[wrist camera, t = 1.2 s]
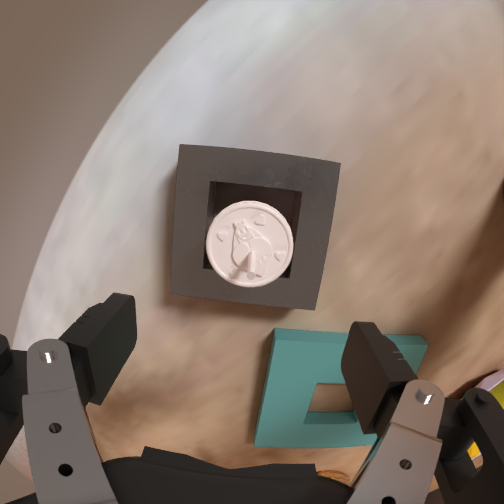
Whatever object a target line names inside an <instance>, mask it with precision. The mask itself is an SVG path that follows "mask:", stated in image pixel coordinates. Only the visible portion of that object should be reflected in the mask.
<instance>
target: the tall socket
mask: <svg viewBox="0 0 504 504" xmlns="http://www.w3.org/2000/svg"><path fill="white" fill-rule="evenodd" d="M340 165H341V163H337V162H332V161H326V160H320V159H314V158H308V157H301V156H294V155H287V154H280V153H272V152H264V151H256V150H246V149H237V148H226V147H214V146H201V145H184V144H180V146H179V156H178V166H177V177H176V190H175V203H174V219H173V239H172V266H171V294H176V295H183V296H190V297H198V298H205V299H213V300H221V301H229V302H237V303H246V304H255V305H264V306H274V307H284V308H295V309H306V310H315V307H316V302H317V298H318V293H319V288H320V284H321V279H322V274H323V269H324V263H325V258H326V253H327V247H328V242H329V236H330V231H331V225H332V219H333V213H334V206H335V200H336V193H337V187H338V180H339V172H340ZM217 182H227V183H237V184H246V185H255V186H263V187H272V188H279V189H287V190H294V191H296V194H295V201H294V208H293V216H292V223H291V233H292V237H293V253H292V257H291V260H290V263H289V265H288V266H287V268H286V269H285V271H284V272H283V273H282V274H281V275H280V276H279V277H278V278H277V279H275V280H274V281H272V282H270V283H268V284H266V285H263V286H258V287H241V286H237V285H234V284H232V283H230V282H228V281H226V280H225V279H223V278H222V277H221V276H220V275H219V274H218V273H217V272H216V271H215V270H214V268H213V267H212V265H211V263H210V261H209V259H208V256H207V251H206V239H207V234H208V231H209V227H210V226H211V224H212V222H213V214H214V203H215V193H216V183H217Z"/></svg>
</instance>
